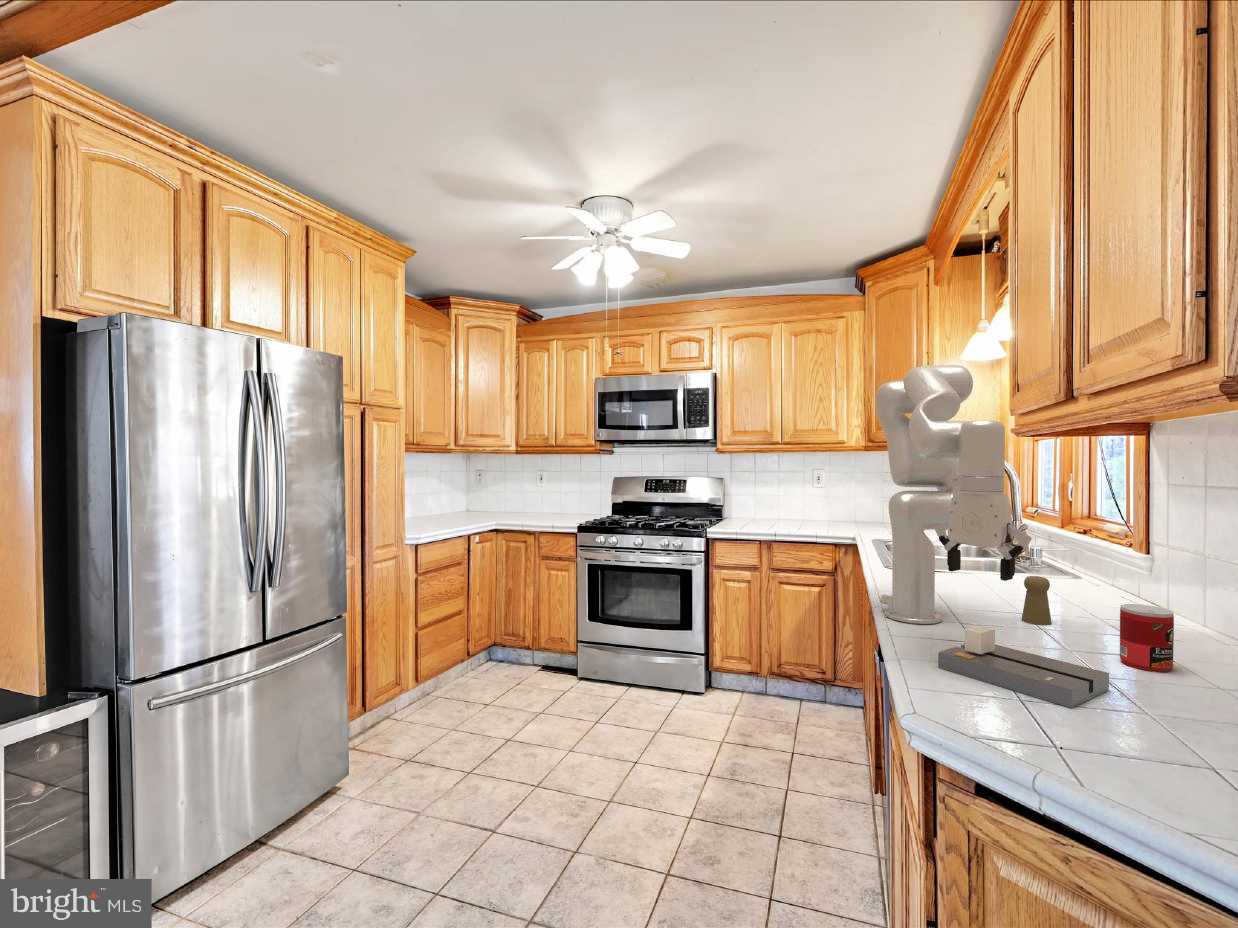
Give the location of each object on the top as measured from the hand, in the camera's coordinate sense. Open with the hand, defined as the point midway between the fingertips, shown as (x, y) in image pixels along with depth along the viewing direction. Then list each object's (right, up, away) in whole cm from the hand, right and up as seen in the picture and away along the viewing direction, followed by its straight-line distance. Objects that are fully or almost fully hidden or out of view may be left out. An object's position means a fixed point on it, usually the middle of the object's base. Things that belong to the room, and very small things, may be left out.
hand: (979, 574), depth 117 cm
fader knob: (0, -16, 0) cm, 16 cm away
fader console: (+4, -18, -6) cm, 19 cm away
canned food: (+32, -18, +1) cm, 37 cm away
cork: (+32, -17, +31) cm, 48 cm away
